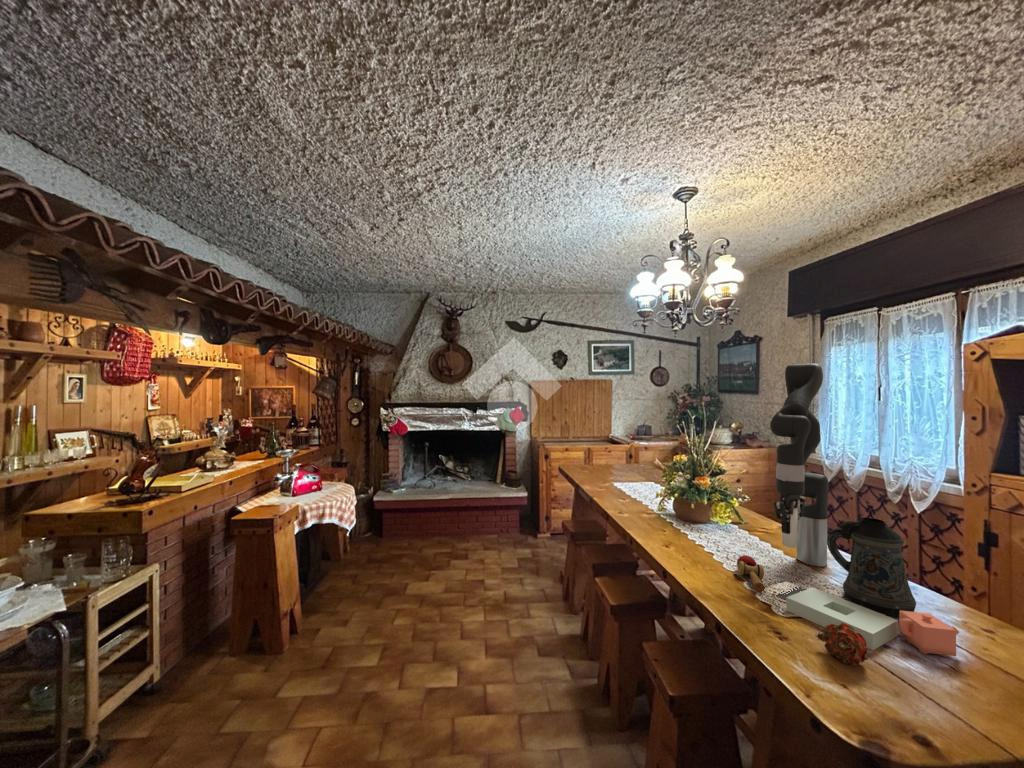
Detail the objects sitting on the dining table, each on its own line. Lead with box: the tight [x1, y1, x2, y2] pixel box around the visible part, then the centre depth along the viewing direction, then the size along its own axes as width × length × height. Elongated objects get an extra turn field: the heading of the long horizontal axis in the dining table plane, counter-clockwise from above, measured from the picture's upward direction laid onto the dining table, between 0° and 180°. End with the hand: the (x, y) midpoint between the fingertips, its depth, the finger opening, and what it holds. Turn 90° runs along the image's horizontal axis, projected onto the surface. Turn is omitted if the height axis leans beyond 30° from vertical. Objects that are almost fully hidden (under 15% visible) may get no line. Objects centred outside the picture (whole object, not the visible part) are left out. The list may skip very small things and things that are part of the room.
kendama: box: [736, 554, 766, 593], centre depth 137 cm, size 8×6×18 cm
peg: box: [781, 508, 798, 549], centre depth 130 cm, size 4×4×12 cm
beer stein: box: [827, 517, 917, 619], centre depth 124 cm, size 16×19×25 cm
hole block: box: [785, 587, 899, 651], centre depth 112 cm, size 14×20×4 cm
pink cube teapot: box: [898, 610, 960, 658], centre depth 102 cm, size 8×12×8 cm, turn 78°
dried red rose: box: [817, 623, 869, 666], centre depth 97 cm, size 8×8×12 cm
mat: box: [775, 585, 808, 601], centre depth 129 cm, size 14×10×1 cm
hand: (789, 531), depth 130 cm, fingers closed on peg, 4 cm apart
